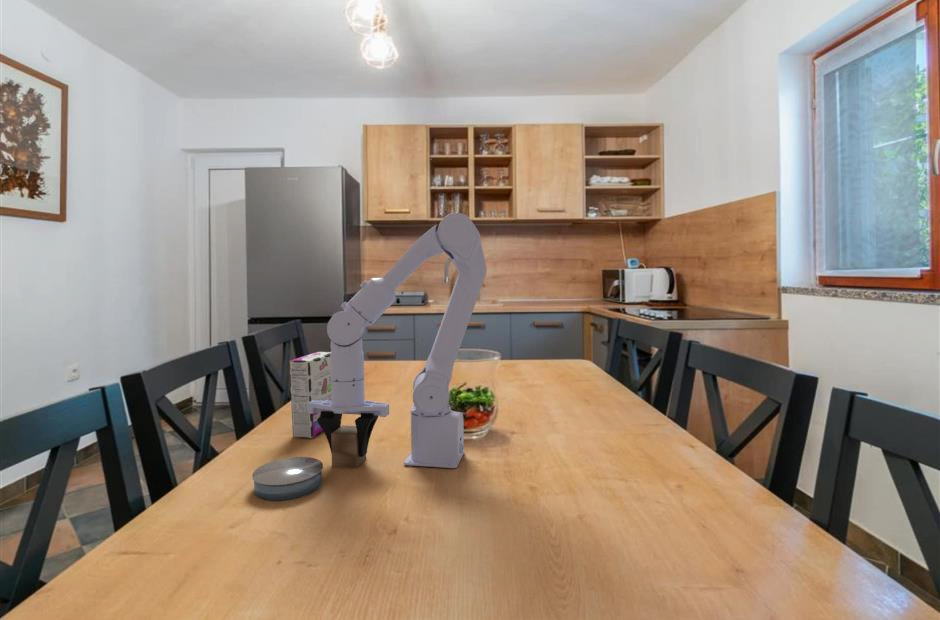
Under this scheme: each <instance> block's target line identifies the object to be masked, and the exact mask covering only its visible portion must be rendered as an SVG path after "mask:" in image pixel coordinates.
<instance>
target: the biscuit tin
mask: <svg viewBox="0 0 940 620" xmlns="http://www.w3.org/2000/svg"><path fill="white" fill-rule="evenodd" d="M323 468H324V464H323V462H322V461H321V460H319V459H317V458H314V457H309V456H292V457H283V458H280V459H275V460H272V461H270V462H267V463H264V464H262V465H260V466H258V467H257V468H256V469H254V471H253V472H252V476H251V477H252V480H253V491H254V495H255V497H256V498H257V499H260V500H262V501H268V502H286V501H292V500H296V499H297V500H298V499H300V498H304V497H307V496H309V495H310V494H312V493H315V492H316V491H318V490H319V488H321V486H322V484H323Z"/></svg>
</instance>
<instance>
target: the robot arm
mask: <svg viewBox="0 0 940 620" xmlns="http://www.w3.org/2000/svg"><path fill="white" fill-rule="evenodd" d="M479 231H480V230H478V228H477V227H476V226H475V224H474V222H473V221H472V220H471V218H470V217H468V215H466V214H464V213H461V212H453V213H449V214H447V215H445V216H444V217H443V218H442V219H441V221H440V222H439V224H438V228H437V224H435V225H433V226H432V227H430V229H428V230H427V231H426V232H425V233H423V235H421V236H419V238H418V239H416V241H415V242H414V243H413V244H412V245H411V246H410V247H409V248H408V249H407V251H405V253H404V254H403V255H402V256H401V257H400V258H399V259H398V260H397V261H396V263H395V264H394V265H393V266H392V267H391V268H390V269H389V270H388V271H387V272H386V273H385V275H383V277H371V278H370V279H369V280H368V281H367V280H363V281H362V282H361V283H360V284H359V287H360V289H359V290H358V291H357V292H356V294H354V295H353V297H351V298H350V300H348V302H347V301H344V302H343V303H342V304H341V305H340V307H341V308H342V309H343V310H339V311H337V312H335V313H333V314H332V315H331V318H330V319H329V320H328V321H327V326H326V332H327V336H328V339H330V352H331V354H330V366H331V400H313V401H311V402H309V403H308V413H309V414H313V413H321V415H320V417H319V418H318V419H317V421H318V424H319V425H320V426H321V428H322V430H323V431H324V432H323V433H324V435H325V438H326V441H327V443H328V445H329V449H330V454H331V455H332V446H331V433H332V432H334V431H335V430H337V429H338V428H339V427H341V426H342V425H341V424H342V417H343V415H359V416H358V417H357V418H356V419H354V423H355V426H356V428H357V434H358V453H359V457H363V456H364V455H365V454H366V455H367V453H368V449H369V443H370V439H371V435H372V431H373V429H374V427H375V425H376V422H377V421H378V419H379V417H381V418H386V417H387V416H389V415H390V403H387V402H378V401H372V400H367V399H365V396H366V395H365V360H364V359H365V358H364V355H365V353H364V351H363V338H362V337H363V335H364V334H365V331H366V328H367V327H371V326H372V325H373V324H374V323H375V322H377V320H378V319H379V318H380V317H382V315H383V314H384V313H385V312H386V311H387V310H388V309H389V308H390V307H391V306H392V305H393V304H394V303H395V302H396V290H397V288H398V287H400V286H401V285H402V284H403V283H404V282H405V281H406V280H407V278H409V277H410V276H411V275H412V274H413V273H414V272H415V271H416V270H417V269H418V268H419V267H420V266H421V265H422V264H423V263H424V262H425V261H426V260H429V259H431V258H434V257H438V256H441V255H442V254H443V253H445V254H446V255H447V256H448V257H449V258H450V259H451V262H452V264H453V265H454V267H455V269H456V271H457V273H458V274H457V276H456V277H457V278H456V280H455V283H454V286H453V288H452V291H451V294H450V297H449V299H448V303H447V304H446V305H447V306H446V308H445V310H444V313H443V317H442V320H441V322H440V324H439V328H438V330H437V333H436V337H435V339H434V342H433V344H432V347H431V351H430V352H429V355H428V358H427V359H426V361H425V364H424V367H423V369H422V370H421V371H420V372H418V373H417V375H416V376H415V378H414V380H413V382H412V383H413V385H412V386H413V387H412V389H413V392H412V403H413V405H412V406H411V407H410V445H411V446H410V451H411V452H410V454H409V455H408V456H407V458H406V459H405V460H404V462H403V464H404V465H405V466H411V467H413V466H416V467H432V468H444V469H445V468H446V469H447V468H448V469H457V468H458V466H459V465H460V462H461V460H462V458H463V456H464V454H465V449H464V448H465V446H464V445H465V443H464V441H465V440H464V439H465V438H464V435H465V433H464V427H465V426H464V415H463V412H461V411H454V410H452V408H451V405H450V404H449V401H450V391H449V390H450V389H449V387H450V384H451V380H452V377H453V371H454V365H455V362H456V359H457V356H458V354H459V351H460V348H461V346H462V343H463V340H464V337H465V334H466V331H467V329H468V325H469V324H470V323H469V322H470V320H471V317H472V315H473V312H474V309H475V307H476V304H477V300H478V297H479V296H480V292H481V290H482V286H483V284H484V280H485V278H486V274H487V272H488V271H487V270H488V269H487V265H486V264H487V263H486V260H485V259H486V258H485V255H484V250H483V246H482V242H481V241H482V240H481V234H480V232H479Z"/></svg>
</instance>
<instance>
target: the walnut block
mask: <svg viewBox="0 0 940 620" xmlns="http://www.w3.org/2000/svg"><path fill="white" fill-rule="evenodd" d="M331 446H332V454H331V467H332V468H342V469H358V468H359V467H360V466H361V465H362V464H363V463H364V462H365V460H367V453H366V454H365V455H364V456H363V457H359V453H358V434H357V428H356V425H341V427H339V428H338V429H337V430H335V431H334V432H332V433H331Z"/></svg>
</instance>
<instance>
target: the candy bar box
mask: <svg viewBox="0 0 940 620" xmlns="http://www.w3.org/2000/svg"><path fill="white" fill-rule="evenodd" d="M330 354H331V351H316V352H313V353H310V354H309V353H308V354H306V355H303V356H300V357H297V358H294V359H291V360H289V380H290V381H289V382H290V386H289V387H290V401H291V402H290V403H291V404H290V405H291V423H292V424H291V425H292V426H291V427H292V438H296V439H314V438H316V437H317V436H320V435H321V434H322V433H324V431H323V430H322V428H321V426H320V425H319V424H318V421H317V419H318V418H319V417H320V415H321V413H313V414H309V413H308V403H309V402H311V401H313V400H331V366H330Z"/></svg>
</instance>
